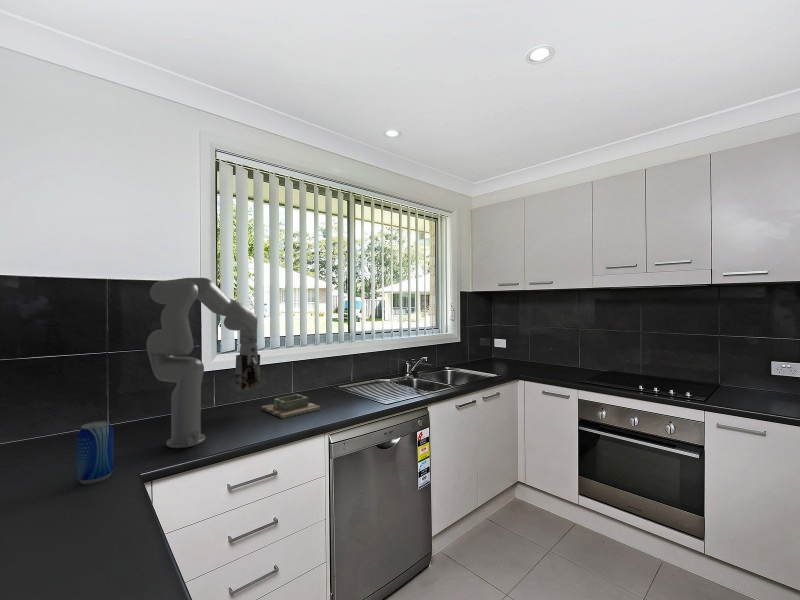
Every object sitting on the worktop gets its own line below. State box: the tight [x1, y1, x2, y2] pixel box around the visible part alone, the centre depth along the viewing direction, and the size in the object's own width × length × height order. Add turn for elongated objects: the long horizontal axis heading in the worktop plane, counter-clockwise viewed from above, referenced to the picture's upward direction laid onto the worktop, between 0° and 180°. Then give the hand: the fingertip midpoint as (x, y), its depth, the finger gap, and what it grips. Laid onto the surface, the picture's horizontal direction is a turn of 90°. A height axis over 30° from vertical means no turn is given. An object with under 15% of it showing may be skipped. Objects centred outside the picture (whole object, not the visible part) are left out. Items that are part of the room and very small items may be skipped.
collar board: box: [261, 393, 321, 419], centre depth 182 cm, size 20×20×6 cm
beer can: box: [76, 420, 114, 485], centre depth 112 cm, size 8×8×16 cm
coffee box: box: [234, 353, 261, 392], centre depth 176 cm, size 9×6×16 cm
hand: (247, 378), depth 176 cm, fingers closed on coffee box, 6 cm apart
